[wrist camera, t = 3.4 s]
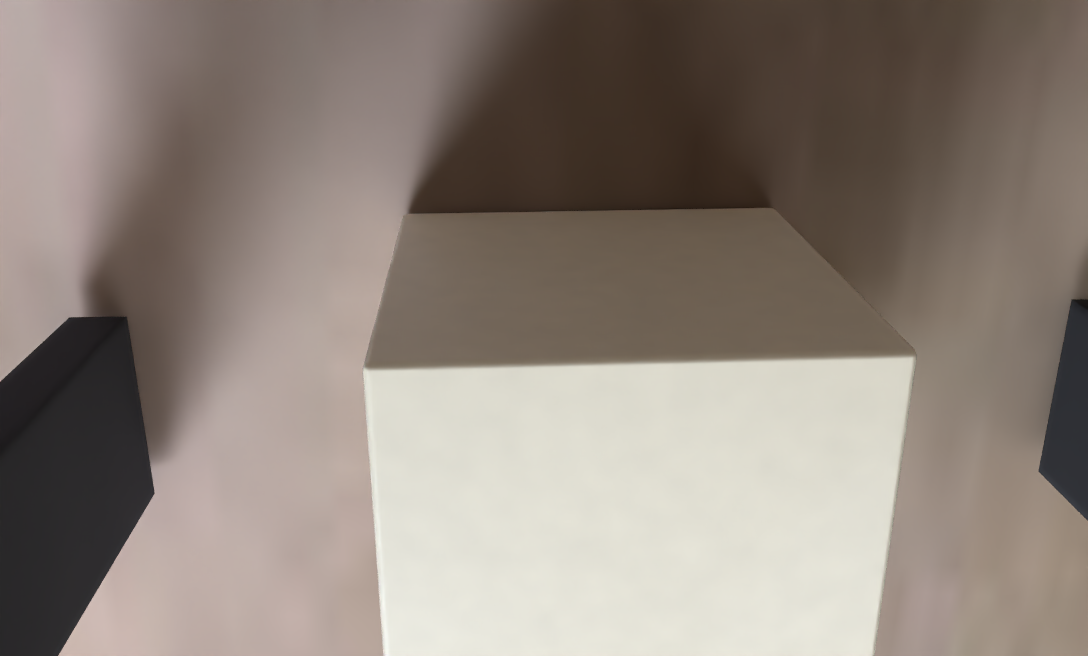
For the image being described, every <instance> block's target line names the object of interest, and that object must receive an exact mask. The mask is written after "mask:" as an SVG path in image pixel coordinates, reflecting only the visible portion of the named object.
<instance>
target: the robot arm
mask: <svg viewBox="0 0 1088 656" xmlns="http://www.w3.org/2000/svg"><path fill="white" fill-rule="evenodd" d="M1039 472H1040V473H1041V474H1042V475H1043V476H1044V477H1045V478H1046V479H1047V480H1048V481H1049V482H1050V483H1051V484H1052V485H1053V486H1054V487H1055V488H1056V489H1057V490H1058V491H1059V492H1060V493H1061V494H1062V495H1063V496H1064V497H1065V498H1066V499H1067V500H1068V501H1069V502H1070V503H1071V504H1072V505H1073V506H1074V507H1075V508H1076V509H1077V510H1078V511H1079V512H1080V513H1081V514H1082V515H1083V516H1084V517H1085V518H1086V519H1087V520H1088V299H1080V300H1072V301H1071V306H1070V311H1069V316H1068V322H1067V327H1066V332H1065V337H1064V342H1063V347H1062V353H1061V358H1060V363H1059V368H1058V373H1057V378H1056V384H1055V389H1054V394H1053V399H1052V404H1051V410H1050V415H1049V420H1048V425H1047V430H1046V435H1045V441H1044V446H1043V451H1042V456H1041V461H1040V466H1039ZM153 495H154V487H153V480H152V474H151V468H150V461H149V455H148V449H147V442H146V436H145V430H144V423H143V417H142V411H141V404H140V398H139V392H138V385H137V379H136V373H135V366H134V360H133V354H132V347H131V341H130V335H129V328H128V322H127V317H73V318H68V319H67V320H66V321H65V322H64V323H63V324H62V325H61V326H60V327H59V328H58V329H57V330H56V331H54V332H53V333H52V334H51V335H50V336H49V337H48V338H47V339H46V340H45V341H44V342H43V343H42V344H40V345H39V346H38V347H37V348H36V349H35V350H34V351H33V352H32V353H31V354H30V355H29V356H28V357H27V358H25V359H24V360H23V361H22V362H21V363H20V364H19V365H18V366H17V367H16V368H15V369H14V370H13V371H11V372H10V373H9V374H8V375H7V376H6V377H5V378H4V379H3V380H2V381H1V382H0V656H58V655H59V653H60V652H61V650H62V648H63V647H64V645H65V643H66V642H67V640H68V638H69V636H70V635H71V633H72V631H73V630H74V628H75V626H76V625H77V623H78V621H79V620H80V618H81V616H82V615H83V613H84V611H85V610H86V608H87V606H88V604H89V603H90V601H91V599H92V598H93V596H94V594H95V593H96V591H97V589H98V588H99V586H100V584H101V583H102V581H103V579H104V578H105V576H106V574H107V573H108V571H109V569H110V567H111V566H112V564H113V562H114V561H115V559H116V557H117V556H118V554H119V552H120V551H121V549H122V547H123V546H124V544H125V542H126V541H127V539H128V537H129V536H130V534H131V532H132V530H133V529H134V527H135V525H136V524H137V522H138V520H139V519H140V517H141V515H142V514H143V512H144V510H145V509H146V507H147V505H148V504H149V502H150V500H151V499H152V497H153Z"/></svg>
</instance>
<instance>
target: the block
mask: <svg viewBox="0 0 1088 656" xmlns="http://www.w3.org/2000/svg"><path fill="white" fill-rule="evenodd" d="M916 358H917V355H916V352H915V349H914V348H913V347H912V346H911V345H910V344H909V343H908V342H907V341H906V340H905V339H904V338H903V337H902V336H901V335H900V334H899V333H898V332H897V331H896V330H895V329H894V328H893V327H892V326H891V325H890V324H889V323H888V322H887V321H886V320H885V319H884V318H883V317H882V316H881V315H880V314H879V313H878V312H877V311H876V310H875V309H874V308H873V307H872V306H871V305H870V304H869V303H868V302H867V301H866V300H865V299H864V298H863V297H862V296H861V295H860V294H859V293H858V292H857V291H856V290H855V289H854V288H853V287H852V286H851V285H850V284H849V283H848V282H847V281H846V280H845V279H844V278H843V277H842V276H841V275H840V274H839V273H838V272H837V271H836V270H835V269H834V268H833V267H832V266H831V265H830V264H829V263H828V262H827V261H826V260H825V259H824V258H823V257H822V256H821V255H820V254H819V253H818V252H817V251H816V250H815V249H814V248H813V247H812V246H811V245H810V244H809V243H808V242H807V241H806V240H805V239H804V238H803V237H802V236H801V235H800V234H799V233H798V232H797V231H796V230H795V229H794V228H793V227H792V226H791V225H790V224H789V223H788V222H787V221H786V220H785V219H784V218H783V217H782V216H781V215H780V214H779V213H778V212H777V211H776V210H775V209H773V208H734V209H674V210H614V211H554V212H493V213H433V214H406V215H404V216H403V218H402V221H401V225H400V229H399V232H398V236H397V240H396V244H395V248H394V251H393V255H392V259H391V263H390V267H389V270H388V274H387V278H386V282H385V286H384V290H383V293H382V297H381V301H380V305H379V309H378V312H377V316H376V320H375V324H374V328H373V331H372V335H371V339H370V343H369V347H368V350H367V354H366V358H365V362H364V366H363V379H364V393H365V407H366V421H367V435H368V448H369V462H370V476H371V490H372V504H373V517H374V531H375V545H376V559H377V573H378V586H379V600H380V614H381V628H382V642H383V655H384V656H874V654H875V646H876V639H877V632H878V625H879V618H880V611H881V604H882V597H883V590H884V583H885V576H886V569H887V562H888V555H889V548H890V541H891V534H892V527H893V520H894V513H895V506H896V499H897V492H898V485H899V477H900V470H901V463H902V456H903V449H904V442H905V435H906V428H907V421H908V414H909V407H910V400H911V393H912V386H913V379H914V372H915V365H916Z"/></svg>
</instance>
